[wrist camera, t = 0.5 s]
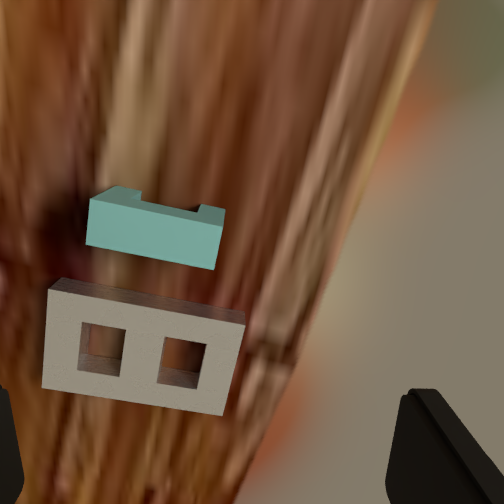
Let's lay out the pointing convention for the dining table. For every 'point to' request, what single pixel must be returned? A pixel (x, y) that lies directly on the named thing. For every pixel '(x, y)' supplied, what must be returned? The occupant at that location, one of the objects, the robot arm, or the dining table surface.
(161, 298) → the grey rectangular frame
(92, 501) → the dining table surface
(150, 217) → the teal notched block
